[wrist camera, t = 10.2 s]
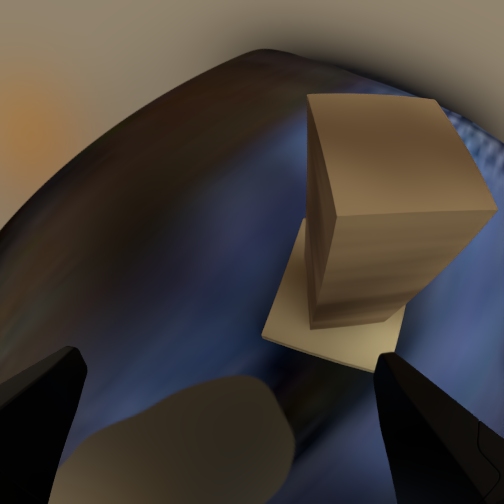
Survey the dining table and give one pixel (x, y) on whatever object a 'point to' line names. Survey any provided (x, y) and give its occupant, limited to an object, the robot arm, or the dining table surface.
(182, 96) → the dining table surface
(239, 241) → the dining table surface
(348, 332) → the base block
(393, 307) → the column brick
